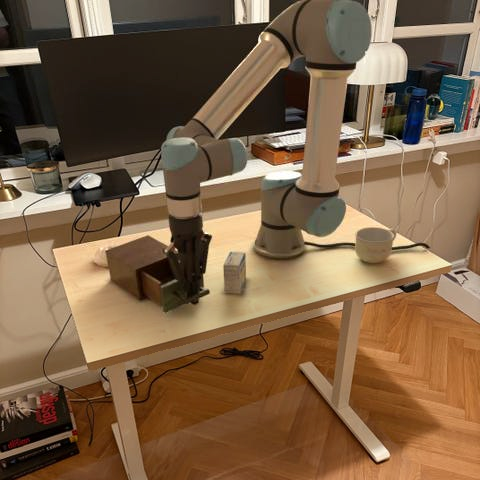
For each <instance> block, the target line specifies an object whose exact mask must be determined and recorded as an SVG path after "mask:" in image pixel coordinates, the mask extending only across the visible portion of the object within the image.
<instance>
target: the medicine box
mask: <svg viewBox="0 0 480 480" xmlns="http://www.w3.org/2000/svg"><path fill="white" fill-rule="evenodd" d="M246 256H247V255H246V252H244V251H229V253H228V255H227V257H226V260H225V261H224V264H222V265H223V267H222V268H223V284H224V285H223V287H224V288H223V290H224V293H225V294H233V295H234V294H236V295H241V293H242V291H243V288H244V286H245V283H246V280H247V266H246V265H247V263H246V261H247V260H246V259H247V258H246Z"/></svg>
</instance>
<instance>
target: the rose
mask: <svg viewBox="0 0 480 480" xmlns="http://www.w3.org/2000/svg"><path fill="white" fill-rule="evenodd" d="M114 247H117V246H115V245H102V246H100V247H99V248H98V249H97V250H96V251H95V253H94V259H93V262H94V264H96V265H98V266H99V267H104V268H105V267H106V268H108V263H107V258H106V252H105V251H106V250H108V249H111V248H114Z"/></svg>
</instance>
